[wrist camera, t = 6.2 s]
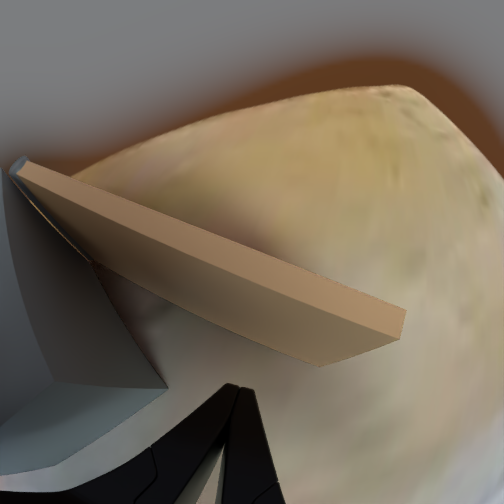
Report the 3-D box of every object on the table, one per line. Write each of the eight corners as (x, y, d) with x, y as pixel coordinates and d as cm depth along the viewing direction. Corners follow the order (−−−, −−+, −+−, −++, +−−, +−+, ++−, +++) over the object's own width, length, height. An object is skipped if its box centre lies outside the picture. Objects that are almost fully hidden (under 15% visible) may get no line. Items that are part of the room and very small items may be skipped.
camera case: (168, 388, 14) (39, 378, 4) (54, 465, 11) (-67, 478, 1) (83, 251, 18) (-5, 148, 8) (-4, 332, 14) (-102, 280, 5)
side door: (328, 343, 15) (410, 289, 7) (318, 370, 14) (397, 347, 6) (95, 237, 18) (26, 148, 10) (83, 256, 17) (5, 173, 9)
